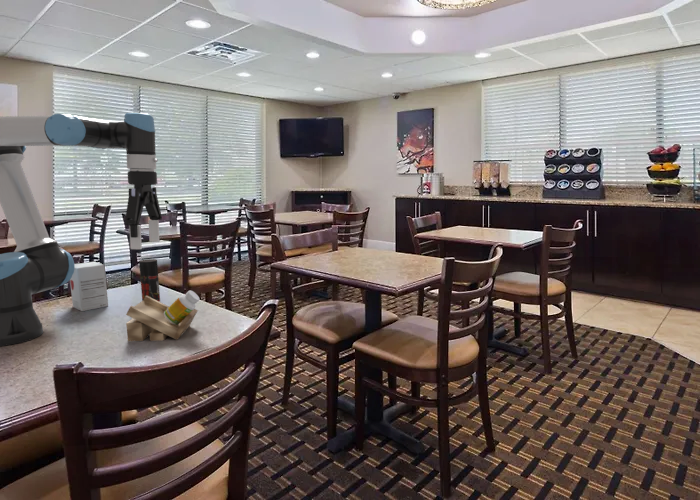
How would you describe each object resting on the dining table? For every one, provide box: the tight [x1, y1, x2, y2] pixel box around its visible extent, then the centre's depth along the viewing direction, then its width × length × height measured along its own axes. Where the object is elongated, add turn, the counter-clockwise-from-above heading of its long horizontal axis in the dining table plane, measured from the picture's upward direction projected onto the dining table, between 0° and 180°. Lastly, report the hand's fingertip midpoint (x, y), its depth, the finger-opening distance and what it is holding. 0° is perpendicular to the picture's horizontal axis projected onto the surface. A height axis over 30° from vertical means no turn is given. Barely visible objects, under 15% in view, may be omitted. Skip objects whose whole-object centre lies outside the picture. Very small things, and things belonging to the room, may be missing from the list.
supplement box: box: [69, 261, 109, 312], centre depth 162 cm, size 9×9×15 cm
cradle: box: [125, 295, 199, 342], centre depth 134 cm, size 16×12×10 cm
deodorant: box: [138, 258, 161, 302], centre depth 168 cm, size 6×6×15 cm
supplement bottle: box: [164, 290, 200, 325], centre depth 134 cm, size 5×5×10 cm
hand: (145, 245), depth 135 cm, fingers open, 13 cm apart
